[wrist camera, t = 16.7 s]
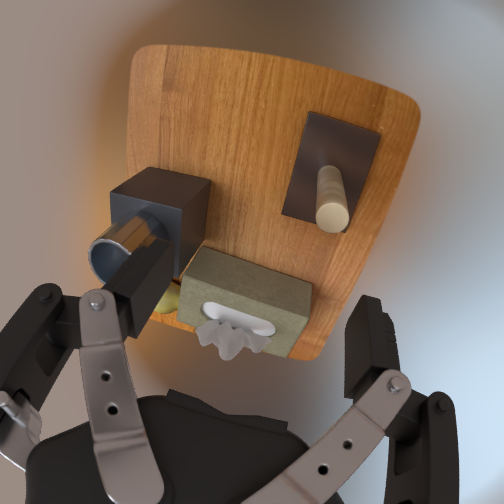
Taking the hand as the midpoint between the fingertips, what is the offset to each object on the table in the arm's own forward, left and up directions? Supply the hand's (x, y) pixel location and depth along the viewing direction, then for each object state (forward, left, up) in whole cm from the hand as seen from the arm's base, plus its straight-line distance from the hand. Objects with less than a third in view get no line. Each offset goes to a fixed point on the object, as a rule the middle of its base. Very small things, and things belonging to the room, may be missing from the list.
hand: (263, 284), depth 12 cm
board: (0, +5, -28) cm, 29 cm away
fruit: (+33, +3, -29) cm, 44 cm away
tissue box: (+22, +11, -29) cm, 38 cm away
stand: (+19, -7, -28) cm, 35 cm away
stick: (+1, +5, -27) cm, 27 cm away
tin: (+19, -7, -18) cm, 28 cm away
